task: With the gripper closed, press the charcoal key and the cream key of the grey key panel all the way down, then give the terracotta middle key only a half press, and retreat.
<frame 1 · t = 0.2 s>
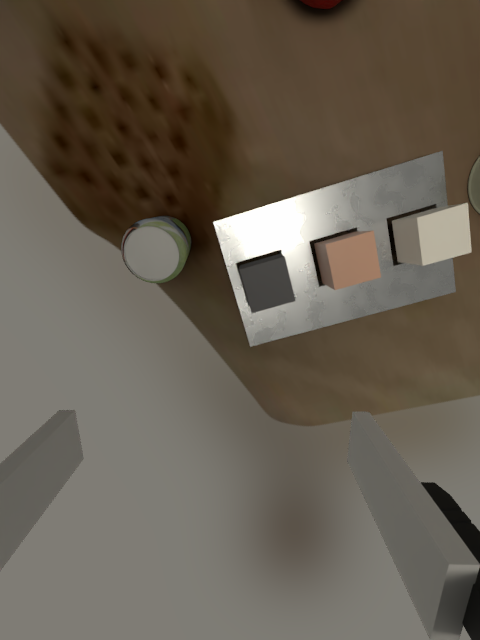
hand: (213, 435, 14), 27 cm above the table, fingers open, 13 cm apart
beverage can: (173, 245, 37), on the table
charcoal key: (266, 282, 33), point 6 cm above the table, slide at 0.0 cm
cream key: (429, 235, 31), point 6 cm above the table, slide at 0.0 cm
key panel: (330, 256, 37), on the table
terracotta key: (345, 259, 32), point 6 cm above the table, slide at 0.0 cm
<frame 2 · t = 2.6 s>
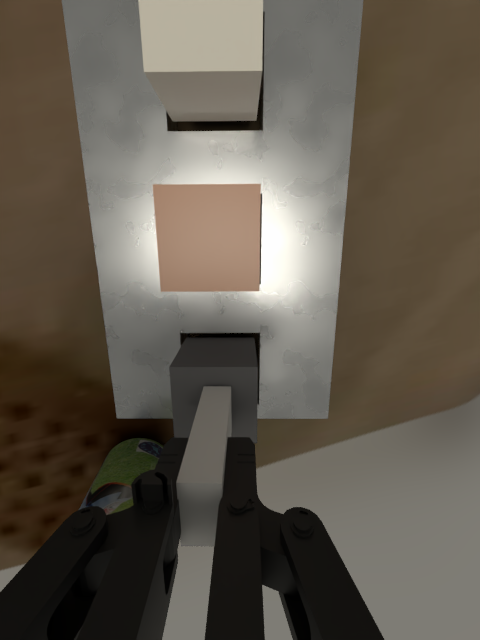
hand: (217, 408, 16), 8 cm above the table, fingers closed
beverage can: (149, 455, 27), on the table
charcoal key: (218, 385, 19), point 5 cm above the table, slide at 0.5 cm, touching gripper
cream key: (208, 40, 14), point 6 cm above the table, slide at 0.0 cm
key panel: (221, 240, 21), on the table
terracotta key: (213, 240, 16), point 6 cm above the table, slide at 0.0 cm
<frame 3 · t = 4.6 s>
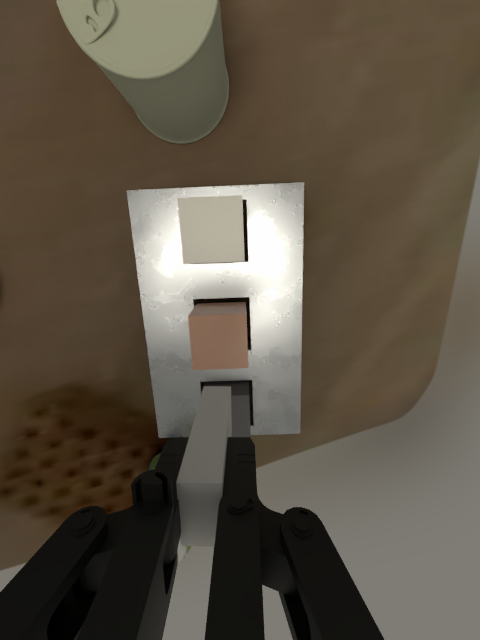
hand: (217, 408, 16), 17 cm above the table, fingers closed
charcoal key: (227, 403, 32), point 3 cm above the table, slide at 2.9 cm
cream key: (214, 231, 24), point 6 cm above the table, slide at 0.0 cm
can: (179, 89, 27), on the table
key panel: (224, 317, 32), on the table
terracotta key: (220, 333, 27), point 6 cm above the table, slide at 0.0 cm
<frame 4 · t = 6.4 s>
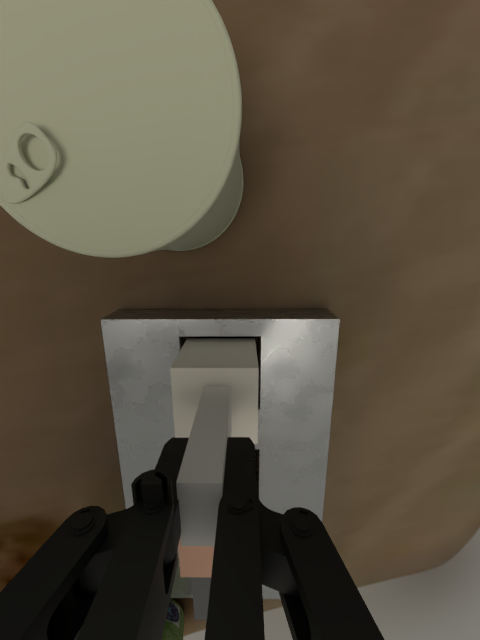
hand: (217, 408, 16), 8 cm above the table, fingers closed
beverage can: (163, 602, 31), on the table
charcoal key: (225, 564, 25), point 3 cm above the table, slide at 2.9 cm
cream key: (218, 386, 19), point 5 cm above the table, slide at 1.1 cm, touching gripper
can: (177, 182, 20), on the table
key panel: (225, 452, 26), on the table
terracotta key: (220, 511, 20), point 6 cm above the table, slide at 0.0 cm
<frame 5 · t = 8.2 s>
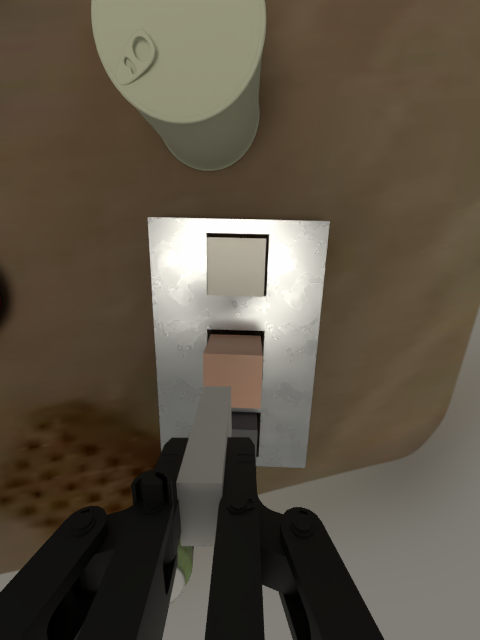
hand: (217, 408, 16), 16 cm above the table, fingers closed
beverage can: (179, 482, 37), on the table
charcoal key: (233, 433, 31), point 3 cm above the table, slide at 2.9 cm
cream key: (237, 265, 27), point 3 cm above the table, slide at 2.9 cm
can: (208, 116, 26), on the table
key panel: (236, 346, 32), on the table
terracotta key: (233, 368, 26), point 6 cm above the table, slide at 0.0 cm
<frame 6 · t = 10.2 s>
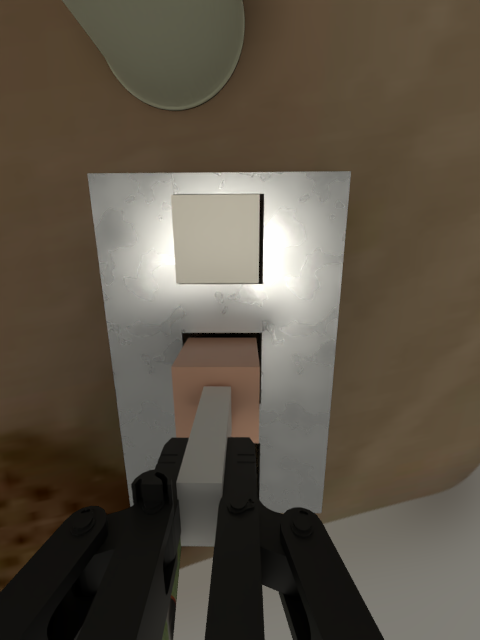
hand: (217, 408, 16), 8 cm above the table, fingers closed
beverage can: (159, 530, 29), on the table
charcoal key: (224, 472, 23), point 3 cm above the table, slide at 2.9 cm
cream key: (219, 240, 19), point 3 cm above the table, slide at 2.9 cm
can: (172, 29, 18), on the table
key panel: (225, 354, 24), on the table
terracotta key: (220, 385, 19), point 5 cm above the table, slide at 0.5 cm, touching gripper
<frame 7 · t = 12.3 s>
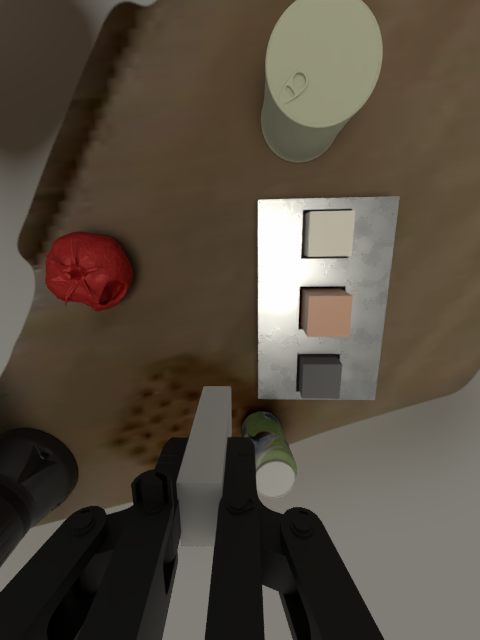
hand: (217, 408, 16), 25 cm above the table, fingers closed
beverage can: (264, 422, 45), on the table
pomegranate: (105, 269, 40), on the table
charcoal key: (317, 373, 39), point 3 cm above the table, slide at 2.9 cm
cream key: (325, 234, 34), point 3 cm above the table, slide at 2.9 cm
can: (300, 119, 34), on the table
key panel: (316, 303, 40), on the table
terracotta key: (324, 311, 35), point 5 cm above the table, slide at 1.3 cm
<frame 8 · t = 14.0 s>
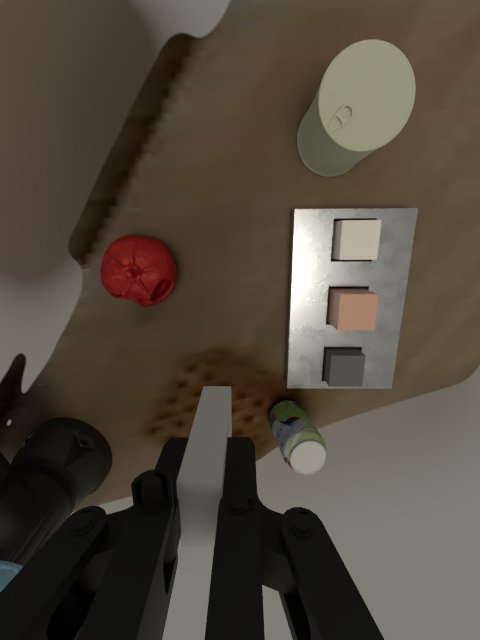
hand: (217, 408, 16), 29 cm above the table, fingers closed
beverage can: (289, 410, 49), on the table
pomegranate: (148, 268, 44), on the table
charcoal key: (341, 364, 44), point 3 cm above the table, slide at 2.9 cm
cream key: (352, 240, 39), point 3 cm above the table, slide at 2.9 cm
can: (331, 139, 39), on the table
key panel: (340, 301, 44), on the table
terracotta key: (350, 308, 40), point 5 cm above the table, slide at 1.3 cm
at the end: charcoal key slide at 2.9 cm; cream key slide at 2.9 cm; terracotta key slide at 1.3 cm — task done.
